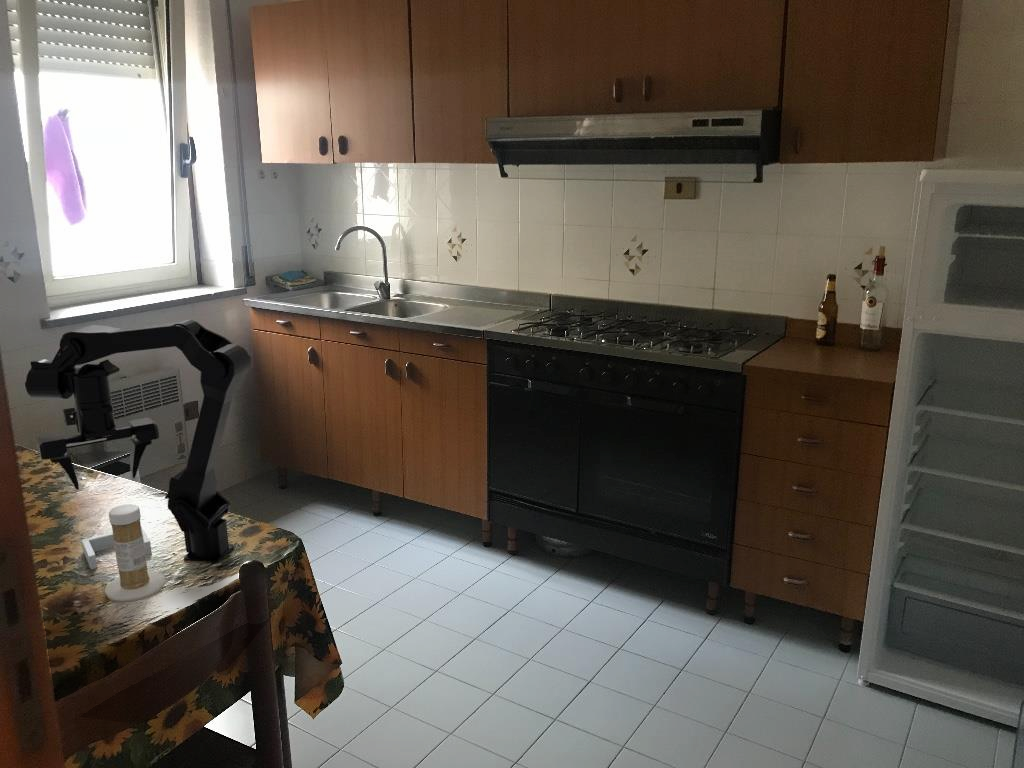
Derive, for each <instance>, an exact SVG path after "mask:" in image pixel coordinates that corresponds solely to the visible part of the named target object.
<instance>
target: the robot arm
mask: <svg viewBox="0 0 1024 768" xmlns="http://www.w3.org/2000/svg"><path fill="white" fill-rule="evenodd" d="M174 347H175V348H176V349H178V350H179V351H181V353H182V354H183V355H184V356H185V358H186V359H187V361H188V362H189V364H190V365H191V366H193V368H196V369H197V370H198V371H199V372H200V387H201V390H202V394H203V399H202V403H201V407H200V411H199V415H198V418H197V422H196V426H195V431H194V434H193V438H192V443H191V447H190V450H189V455H188V459H187V463H186V466H184V467H183V468H182V469H181V470H179V471H178V472H177V473H175V474H174V475H173V476H171V477H170V480H169V483H168V484H169V486H168V492H167V494H165V496H164V499H167V509H168V511H170V512H171V514H172V515H173V516H174V519H175V521H176V523H177V524H178V526H179V529H180V531H181V532H182V533H183V535H184V543H185V544H184V545H185V551H186V553H187V554H185V555H184V556H183V560H184V561H191V562H202V563H203V562H204V563H215V564H216V563H218V562H220V560H221V559H222V558H224V557H225V556H226V555H227V554H228V553H229V552H230V551H231V550H233V549H234V548H235V546H234V544H233V543H229V542H230V541H229V536H228V535H229V533H228V526H227V519H225V518H224V517H225V515H228V513H229V510H230V507H231V502H229V500H227V499H226V498H225V497H224V496H223V495H222V494H221V493H220V492H219V491H218V490H217V488H218V487H217V485H218V484H217V483H218V480H217V477H216V473H215V466H216V463H217V462H216V461H217V458H218V455H219V451H220V447H221V443H222V439H223V435H224V431H225V427H226V423H227V420H228V416H229V412H230V408H231V405H232V402H233V401H232V400H233V398H234V396H236V393H237V392H238V390H239V389H240V387H241V386H242V384H243V382H244V381H245V380H246V379H245V378H247V374H248V372H249V370H250V369H251V365H252V358H251V355H249V353H248V351H247V350H246V349H245V348H244V347H243V346H241V345H239V344H235V343H233V342H231V340H229V339H228V338H226V337H225V336H223V335H221V334H219V333H217V332H214V331H212V330H210V329H208V328H206V327H205V326H203V325H202V324H200V323H199V322H197V321H195V320H193V319H184V320H182V321H176V322H168V323H161V324H151V325H150V324H149V325H144V326H143V325H142V326H134V327H125V328H118V327H113V326H110V325H99V324H91V325H86V326H84V327H81V328H80V327H79V328H77V329H74V330H71V331H67V332H65V333H64V334H62V336H61V338H60V341H59V349H58V351H57V352H56V353H55V355H54V357H53V359H51V360H50V359H46V358H45V359H44V358H38V359H35V360H32V361H30V369H29V371H28V373H27V375H26V379H25V382H24V387H25V390H26V393H27V394H28V395H29V396H30V397H31V398H34V399H52V400H56V399H57V400H66V399H67V400H68V399H70V398H71V397H72V396H73V398H74V399H73V400H74V405H75V407H70V408H69V407H68V408H63V409H62V414H63V415H62V416H63V420H64V424H65V427H66V428H67V427H75V426H76V431H77V433H79V434H78V435H71V436H66V437H65V436H64V435H63V433H62V432H55V433H49V434H43V435H39V436H38V437H37V439H36V446H37V451H38V454H39V457H40V459H41V460H49V461H50V463H51V464H52V463H58V464H59V465H60V466H61V467H62V469H63V471H65V473H66V474H67V475H68V478H69V479H70V481H71V482H72V484H73V486H74V488H75V490H79V489H80V488H79V487H80V486H79V481H78V477H77V473H76V471H75V468H74V465H73V461H72V458H71V456H70V453H69V451H68V449H72V448H77V447H82V446H88V445H94V444H98V443H105V442H109V441H115V440H121V439H127V438H128V443H129V461H130V462H129V464H130V465H129V466H130V475H131V478H132V479H135V478H136V476H137V472H138V469H139V466H140V462H141V459H142V457H143V454H144V453H145V451H146V448H147V446H150V445H152V444H153V440H157V439H159V438H160V434H159V428H158V425H157V423H155V421H154V420H153V419H152V418H150V417H149V416H148V417H142V418H135V419H130V420H128V422H127V423H128V424H127V425H128V426H125V427H124V426H123V427H119V428H118V427H116V419H115V413H114V407H113V399H112V393H111V392H112V391H111V386H110V385H111V384H110V378H109V376H112V375H115V374H116V373H119V372H120V367H118V366H117V365H115V364H114V363H112V362H111V361H110V359H104V360H102V361H100V362H99V363H91V362H93V361H97V360H100V359H102V358H106V357H109V356H112V355H115V354H121V353H130V352H140V351H147V350H155V349H165V348H174ZM83 364H84V365H83ZM81 365H82V366H81ZM76 366H80V368H79V367H76Z"/></svg>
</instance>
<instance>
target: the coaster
mask: <svg viewBox="0 0 1024 768" xmlns="http://www.w3.org/2000/svg"><path fill="white" fill-rule="evenodd" d="M147 571H148V576H149V582H148V583H146V584H145V585H144V586H142V587H139V588H135V589H125V588H122V587H121V586H120V576H118V577H115V578H114V579H112V580H110V582H109V583H107V585H106V586H105V588H104V589H105V597H106V598H107V599H108V600H109V601H113V602H117V603H130V602H137V601H140V600H144V599H147V598H149V597H152V596H153V595H156V594H158V593H159V592H160V591H161V590H162V589H163V588H164V586H165V585H166V581H165V580H166V579H165V575H164V574H163V573H161V572H160V571H156V570H147Z"/></svg>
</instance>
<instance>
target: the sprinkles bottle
mask: <svg viewBox="0 0 1024 768" xmlns="http://www.w3.org/2000/svg"><path fill="white" fill-rule="evenodd" d="M141 515H142V514H141V509H140V507H139V505H137V504H133V503H125V504H121V505H120V504H119V505H116V506H115V507H112V508H111V509H110V510H109V512H108V519H109V523H110V526H111V529H112V530H111V531H112V532H113V537H114V539H113V540H114V546H115V547H114V552H115V558H116V563H117V564H116V565H117V570H118V575H119V576H120V586H121V587H122V588H125V589H135V588H139V587H142V586H144V585H145V584H146V583H148V582H149V576H148V571H149V570H148V567H147V566H148V565H147V564H148V563H147V562H148V561H147V555H146V553H145V546H144V539H143V535H142V530H141V527H142V525H141ZM119 576H118V577H119Z"/></svg>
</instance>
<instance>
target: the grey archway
mask: <svg viewBox="0 0 1024 768" xmlns="http://www.w3.org/2000/svg"><path fill="white" fill-rule="evenodd" d="M141 530H142V535H143V539H144V546H145V553H146V556H149V555H152V554H153V553H152V544H151V540H150V539H149V537H148V535H147V533H146V532H145V531H144V529H143V528H142V526H141ZM113 539H114V537H113V531H112V532H108V533H104V534H100V535H96V536H92V537H88V538H83V539H81V545H82V551H83V554H84V556H85V559H86V561H87V563H88V566H89V568H90V570H95V569H98V563H97V557H96V554H95V553H96V552H100V551H103V550H107V549H112V548H115V546H114V540H113Z"/></svg>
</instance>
